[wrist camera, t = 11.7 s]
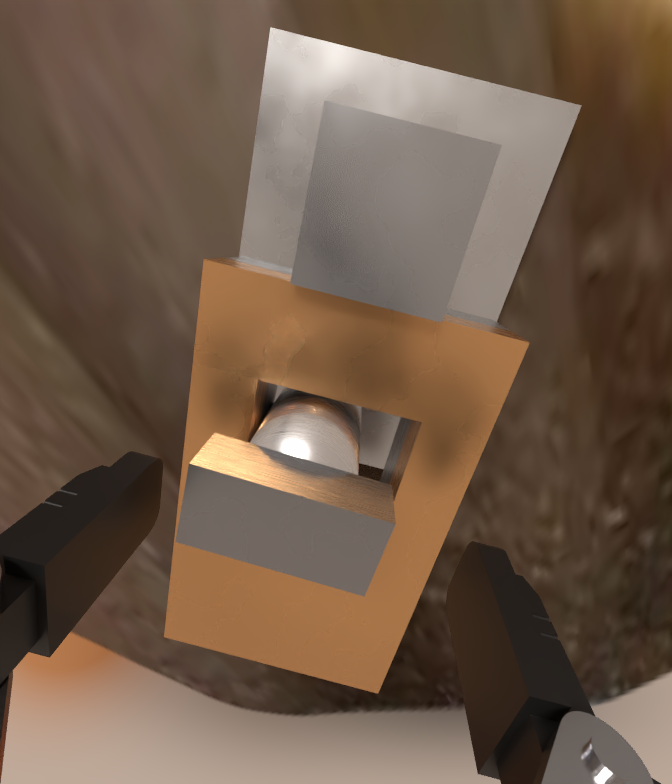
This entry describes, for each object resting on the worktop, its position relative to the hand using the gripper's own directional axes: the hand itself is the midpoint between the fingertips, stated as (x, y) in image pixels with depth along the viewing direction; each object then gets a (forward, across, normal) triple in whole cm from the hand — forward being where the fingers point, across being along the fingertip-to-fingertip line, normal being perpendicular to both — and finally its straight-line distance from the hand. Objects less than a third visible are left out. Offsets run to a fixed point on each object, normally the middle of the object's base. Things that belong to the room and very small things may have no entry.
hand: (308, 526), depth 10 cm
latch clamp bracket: (+14, 0, -2) cm, 14 cm away
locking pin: (+13, +1, 0) cm, 13 cm away
